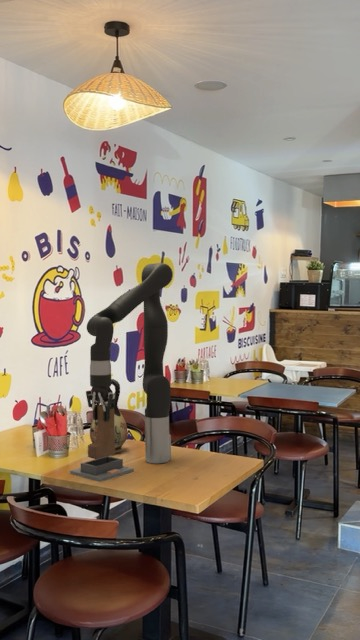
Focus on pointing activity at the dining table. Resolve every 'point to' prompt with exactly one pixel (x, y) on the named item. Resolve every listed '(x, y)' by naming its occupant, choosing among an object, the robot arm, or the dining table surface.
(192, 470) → the dining table surface
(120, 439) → the ceramic jug
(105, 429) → the wooden block
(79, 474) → the pocket plate
